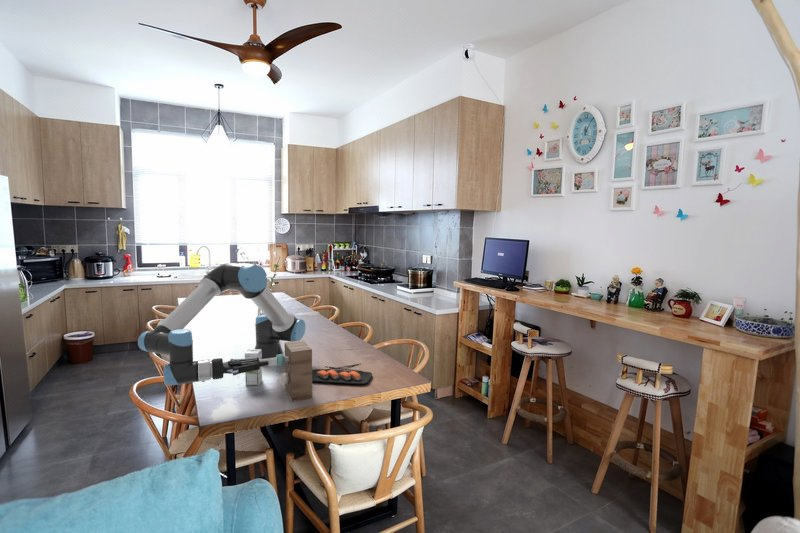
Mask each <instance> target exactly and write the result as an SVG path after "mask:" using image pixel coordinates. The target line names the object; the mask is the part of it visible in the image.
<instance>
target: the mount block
mask: <svg viewBox="0 0 800 533" xmlns="http://www.w3.org/2000/svg"><path fill="white" fill-rule="evenodd" d="M286 356H289V362H284V373H288V375H289V384H286V385H284V388H285V392H286V393H287V395H288V396H289V398H290V400H291V402H297V401H303V400H304V401H305V400H308V399H313V381H312V370H313V348H311V347H310V346H309V344H308V343H307V342H306V341H305V340H302V339H301V340H300V341H293V342H290V341H284V357H286Z"/></svg>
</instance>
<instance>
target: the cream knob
mask: <svg viewBox="0 0 800 533" xmlns="http://www.w3.org/2000/svg"><path fill="white" fill-rule="evenodd" d="M280 383H281V386H285V385H286V384H289V375H288V373H285V372H281V373H280Z"/></svg>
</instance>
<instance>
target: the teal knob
mask: <svg viewBox="0 0 800 533" xmlns="http://www.w3.org/2000/svg"><path fill="white" fill-rule="evenodd" d="M276 358H277V365H276V366H277V367H282V366H284V367H285V362H289V356H286V357H285V354H284V353H283V354H278V355H276Z"/></svg>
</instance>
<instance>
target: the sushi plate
mask: <svg viewBox="0 0 800 533" xmlns="http://www.w3.org/2000/svg"><path fill="white" fill-rule="evenodd" d="M359 364H360V363H356V364H351V365H345V366H339V367H338V366H337V367H336V366H335V367H334V366H325V365H324V366H325V367H324V368H321V369H320V368H316V369H312V382H317V383H333V384H334V383H335V384H349V385H350V384H352V385H366V384H367V383H368V384H369V382H370V380H371V378H372V376H373V374H372V372H371V371H363V370H356V369H348V368H349V367H356V366H359ZM355 365H356V366H355ZM328 367H329V368H328ZM325 368H327V369H325Z"/></svg>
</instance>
